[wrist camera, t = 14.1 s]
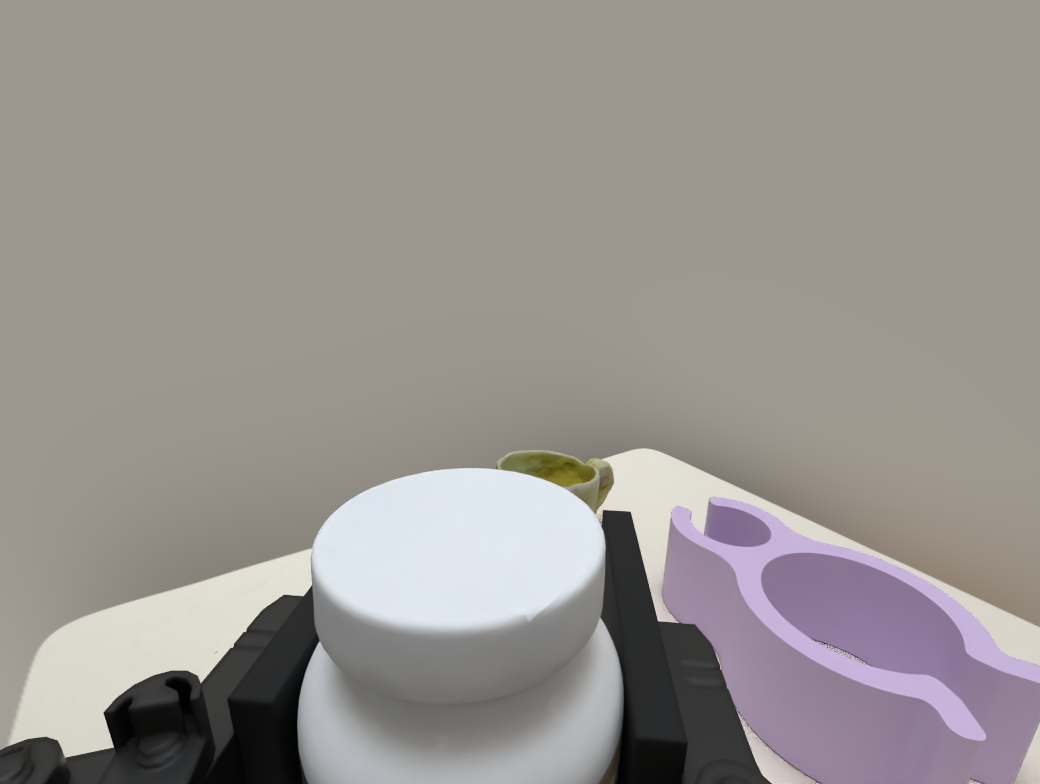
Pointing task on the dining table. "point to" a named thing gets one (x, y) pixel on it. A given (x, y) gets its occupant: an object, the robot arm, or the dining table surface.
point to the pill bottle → (461, 637)
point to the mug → (564, 473)
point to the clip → (840, 680)
